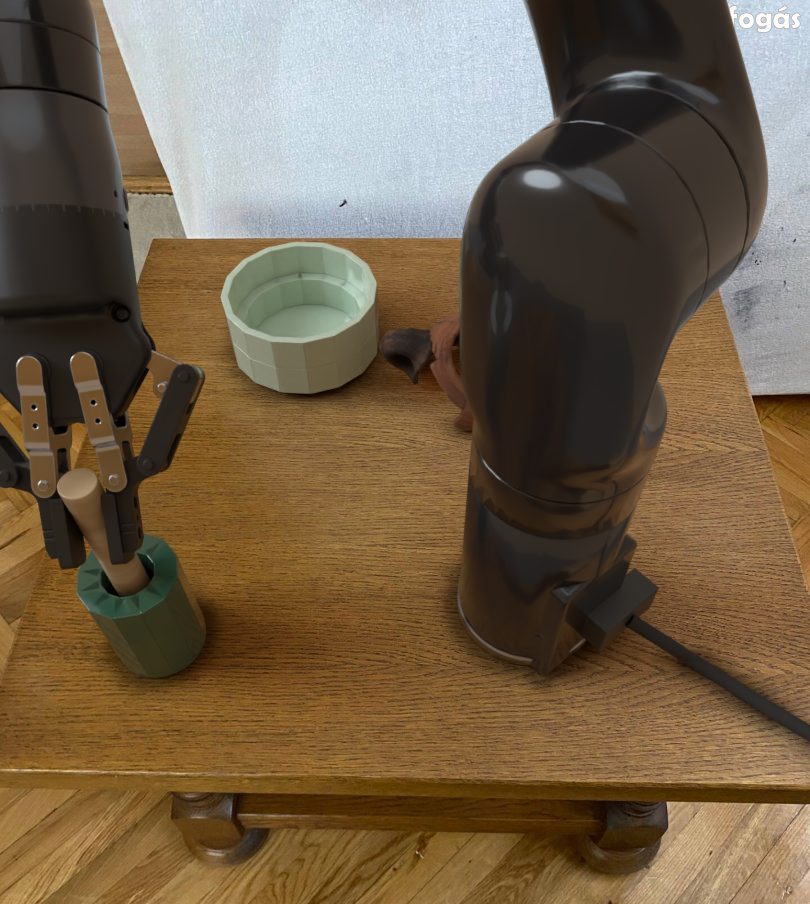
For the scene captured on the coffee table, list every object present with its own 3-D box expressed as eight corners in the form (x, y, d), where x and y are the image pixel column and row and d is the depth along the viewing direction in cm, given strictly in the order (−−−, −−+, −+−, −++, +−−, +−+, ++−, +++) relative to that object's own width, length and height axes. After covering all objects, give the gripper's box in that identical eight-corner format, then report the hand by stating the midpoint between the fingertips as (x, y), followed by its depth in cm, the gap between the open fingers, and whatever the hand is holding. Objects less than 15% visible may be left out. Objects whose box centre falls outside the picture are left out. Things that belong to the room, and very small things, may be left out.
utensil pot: (223, 641, 54) (196, 577, 48) (146, 695, 52) (107, 636, 45) (176, 585, 57) (145, 516, 50) (101, 634, 55) (58, 569, 48)
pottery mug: (510, 343, 71) (548, 306, 63) (502, 450, 69) (541, 425, 61) (373, 319, 68) (395, 277, 60) (363, 430, 67) (384, 401, 59)
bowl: (408, 351, 70) (407, 293, 65) (292, 421, 65) (281, 365, 60) (320, 281, 75) (314, 223, 70) (207, 342, 70) (192, 285, 65)
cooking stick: (181, 635, 54) (104, 484, 41) (154, 653, 53) (68, 505, 40) (165, 615, 55) (85, 461, 42) (139, 633, 54) (49, 481, 41)
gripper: (-147, 208, 36) (-72, 593, 39) (173, 186, 36) (220, 567, 40) (-61, 239, 43) (-5, 561, 46) (203, 221, 44) (241, 539, 47)
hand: (99, 562), depth 43 cm, fingers closed on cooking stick, 2 cm apart
